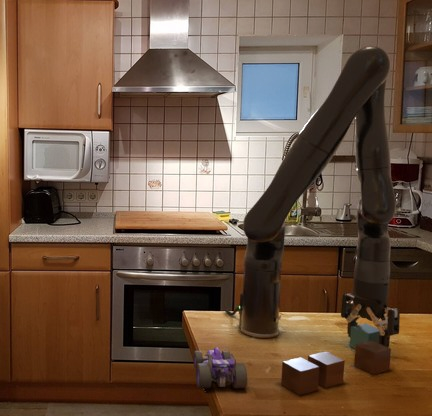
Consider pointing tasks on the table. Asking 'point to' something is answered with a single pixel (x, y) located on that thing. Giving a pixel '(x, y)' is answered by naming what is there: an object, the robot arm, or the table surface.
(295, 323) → the table surface
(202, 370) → the toy race car
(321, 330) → the table surface
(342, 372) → the walnut block
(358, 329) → the teal block
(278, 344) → the table surface
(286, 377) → the walnut block
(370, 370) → the walnut block
